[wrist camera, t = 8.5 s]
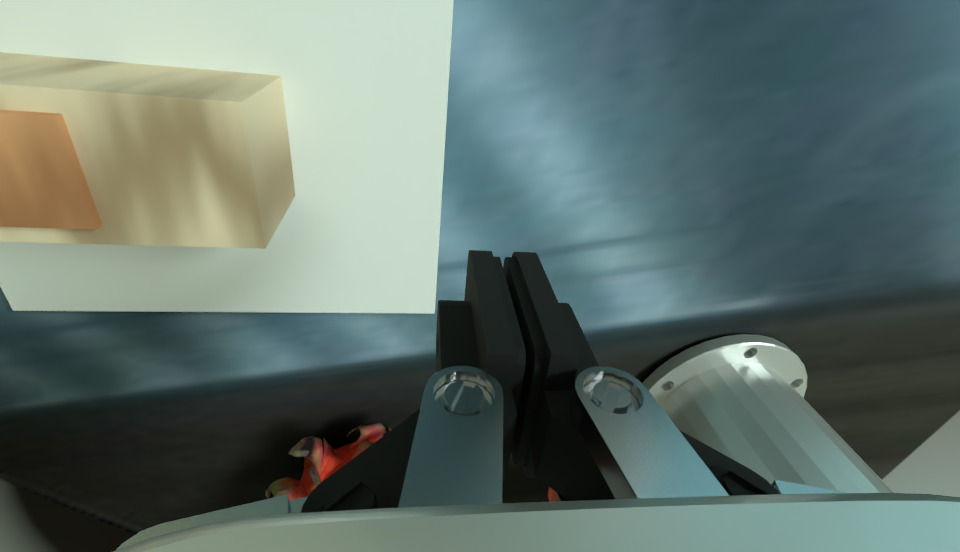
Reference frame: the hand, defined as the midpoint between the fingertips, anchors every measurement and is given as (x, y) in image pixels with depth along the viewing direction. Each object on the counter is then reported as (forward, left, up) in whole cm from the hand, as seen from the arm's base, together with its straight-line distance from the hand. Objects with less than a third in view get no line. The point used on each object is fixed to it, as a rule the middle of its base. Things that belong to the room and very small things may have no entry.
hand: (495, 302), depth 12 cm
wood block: (+1, +7, -8) cm, 11 cm away
